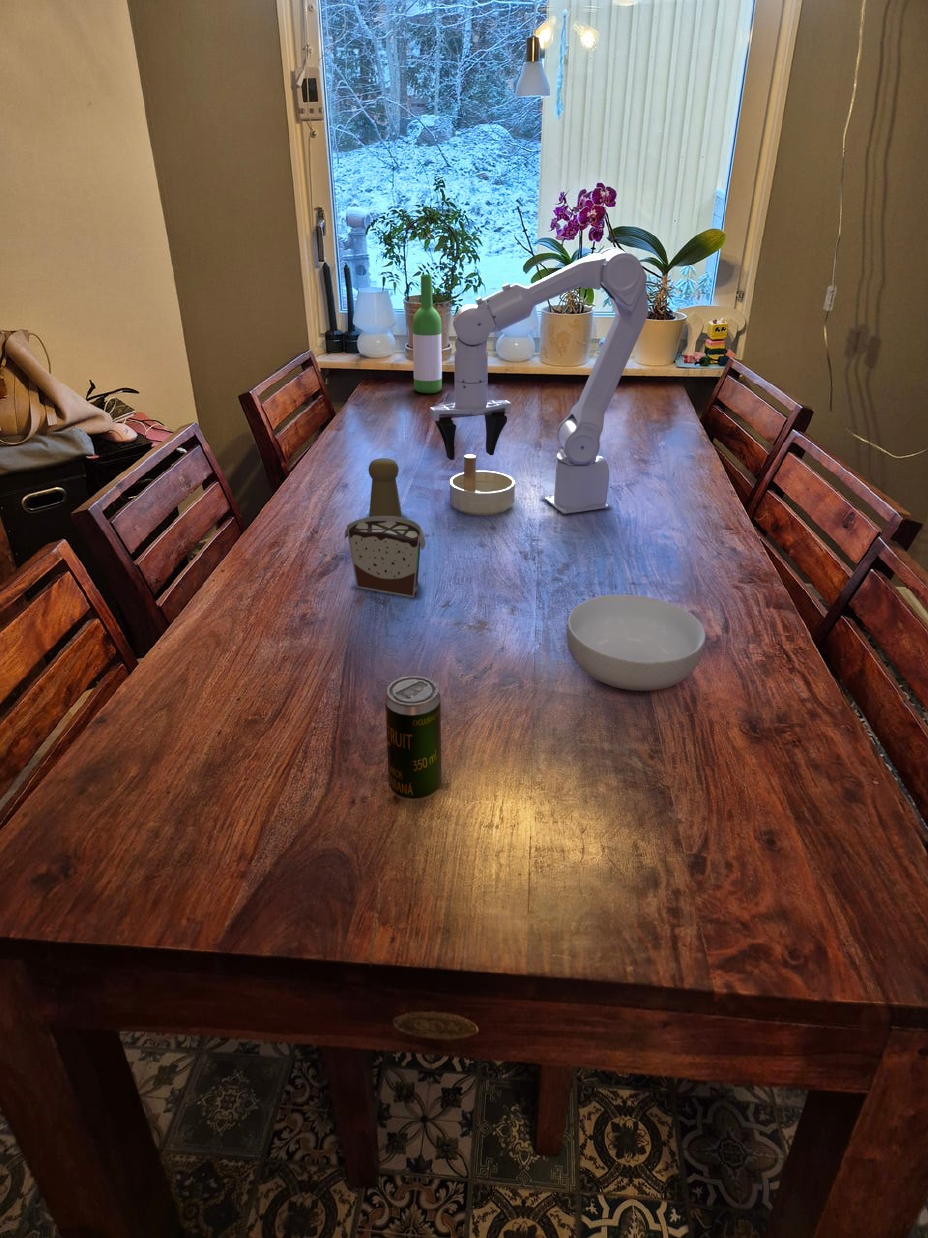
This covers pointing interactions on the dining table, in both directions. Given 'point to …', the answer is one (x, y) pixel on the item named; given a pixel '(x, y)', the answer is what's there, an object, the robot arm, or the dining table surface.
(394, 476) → the cork
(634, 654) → the cereal bowl
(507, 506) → the beige round dish
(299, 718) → the dining table surface
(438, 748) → the green soda can
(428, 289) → the wine bottle
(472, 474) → the pestle
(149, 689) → the dining table surface
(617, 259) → the robot arm
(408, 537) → the food container
